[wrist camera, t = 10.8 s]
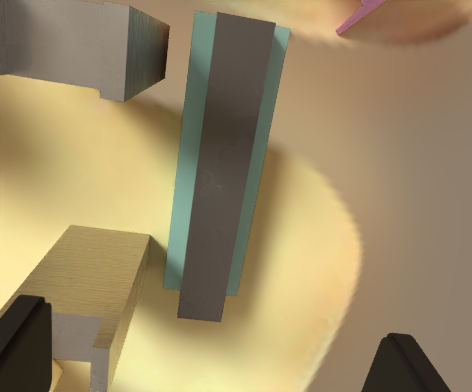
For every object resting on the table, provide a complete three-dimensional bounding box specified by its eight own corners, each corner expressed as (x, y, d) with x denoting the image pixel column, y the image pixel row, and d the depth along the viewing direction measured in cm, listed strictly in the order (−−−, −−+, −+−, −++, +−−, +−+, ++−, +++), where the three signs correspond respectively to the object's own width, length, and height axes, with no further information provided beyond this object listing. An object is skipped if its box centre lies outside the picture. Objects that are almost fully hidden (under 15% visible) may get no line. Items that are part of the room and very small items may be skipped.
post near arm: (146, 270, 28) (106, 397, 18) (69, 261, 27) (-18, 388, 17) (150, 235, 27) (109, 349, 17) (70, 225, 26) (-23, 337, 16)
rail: (220, 295, 28) (220, 322, 26) (181, 291, 28) (177, 317, 25) (268, 26, 22) (275, 23, 19) (217, 17, 21) (217, 12, 19)
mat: (236, 291, 29) (236, 296, 29) (164, 283, 28) (163, 287, 28) (288, 29, 22) (290, 28, 22) (195, 11, 22) (195, 10, 21)
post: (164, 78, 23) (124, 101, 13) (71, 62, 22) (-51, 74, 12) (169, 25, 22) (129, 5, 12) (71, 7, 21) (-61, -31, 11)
